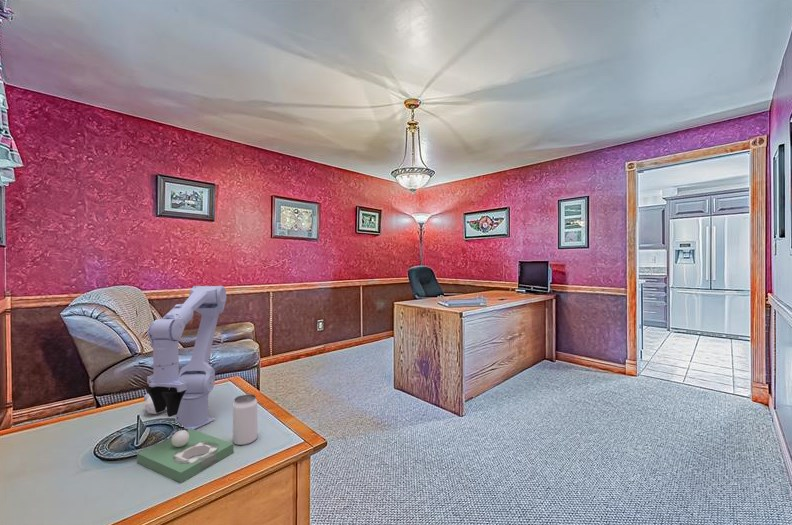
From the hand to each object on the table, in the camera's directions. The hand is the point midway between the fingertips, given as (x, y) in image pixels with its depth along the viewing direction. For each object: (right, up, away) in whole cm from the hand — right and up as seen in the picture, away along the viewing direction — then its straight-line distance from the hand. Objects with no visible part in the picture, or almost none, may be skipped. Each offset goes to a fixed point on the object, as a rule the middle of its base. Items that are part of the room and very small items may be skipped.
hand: (166, 413), depth 94 cm
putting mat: (+8, -10, -4) cm, 13 cm away
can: (+19, -10, +5) cm, 22 cm away
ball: (+5, -6, -3) cm, 8 cm away
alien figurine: (-18, -10, +23) cm, 30 cm away
